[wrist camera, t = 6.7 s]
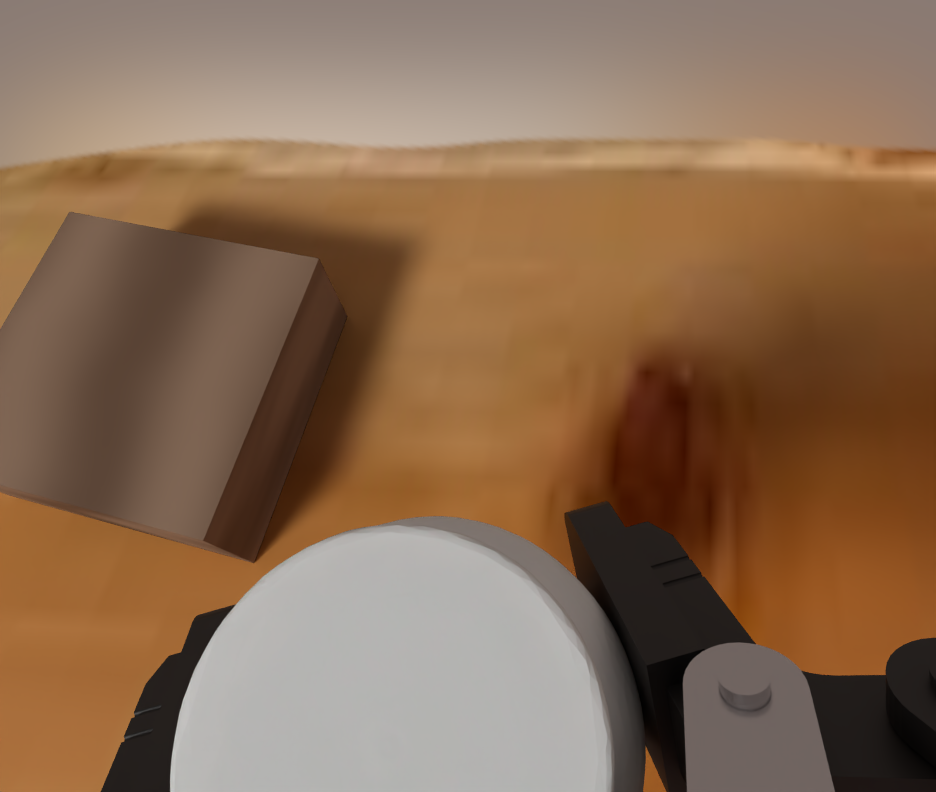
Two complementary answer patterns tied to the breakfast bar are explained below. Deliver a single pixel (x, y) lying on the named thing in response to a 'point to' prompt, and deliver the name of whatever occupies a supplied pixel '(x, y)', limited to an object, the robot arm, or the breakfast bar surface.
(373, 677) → the pill bottle
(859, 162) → the breakfast bar surface
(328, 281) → the walnut base
